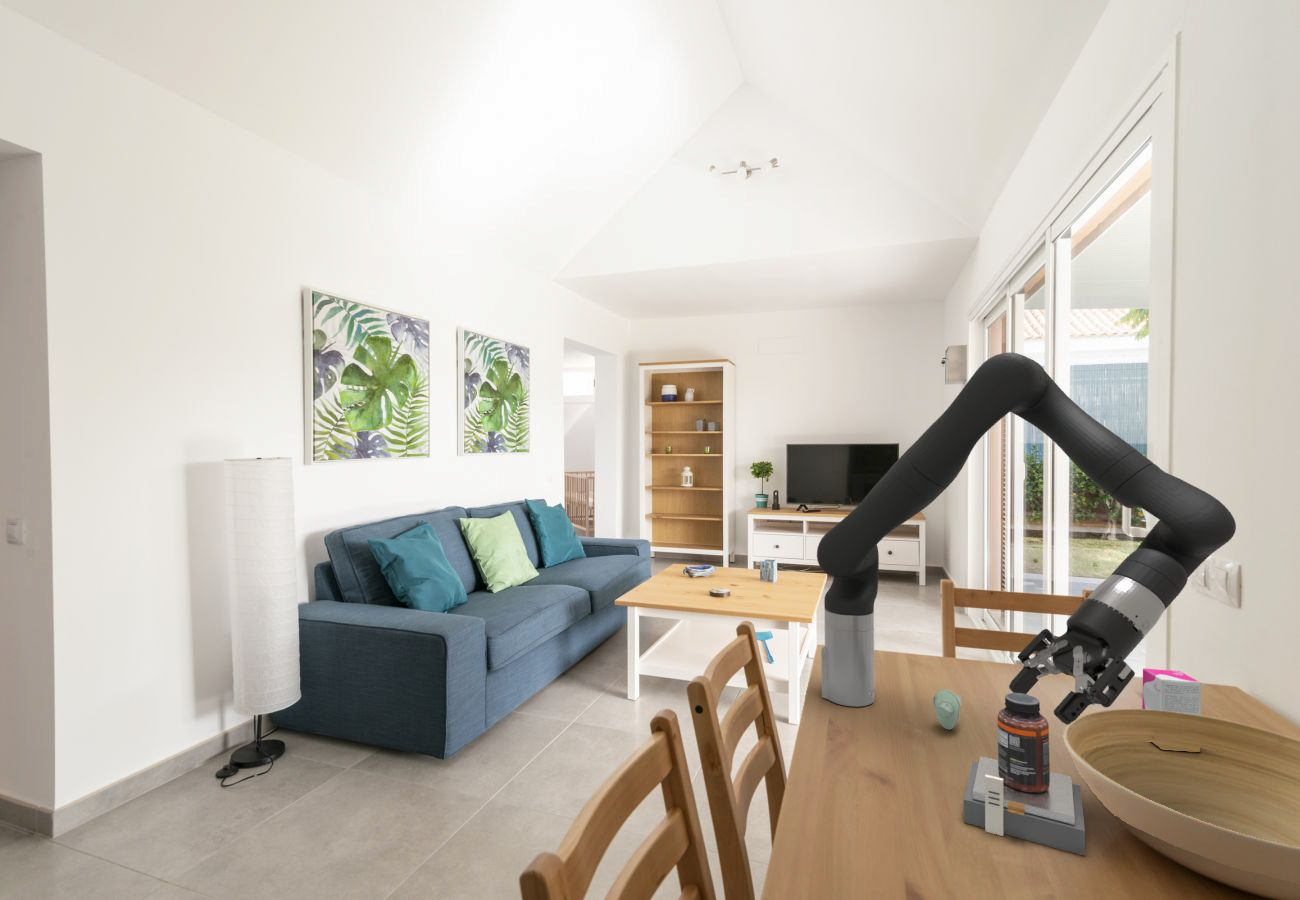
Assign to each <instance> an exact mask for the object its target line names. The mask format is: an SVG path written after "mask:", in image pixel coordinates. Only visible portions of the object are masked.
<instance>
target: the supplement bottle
mask: <svg viewBox="0 0 1300 900" xmlns="http://www.w3.org/2000/svg"><path fill="white" fill-rule="evenodd" d="M1004 706H1005V707H1003V708H1002V709H1000V710H999V711H998V713H997V756H998V757H997V760H998V771H999V772H998V773H999V777H1000V778H1003V782H1004V783H1005V784H1006V785H1008V786H1010V787H1013V788H1015V789H1018V790H1021V791H1025V792H1043V791H1045V790H1047V789H1048V788H1049V785H1050V772H1051V770H1050V769H1051V768H1050V734H1049V733H1050V727H1049V721H1048V720H1047V719H1046V717H1045V716H1044V715H1043V714H1041V713H1040V711H1041V707H1040V700H1039V699H1038V698H1037V697H1035V696H1033V695H1031V694H1028V693H1027V694H1022V693H1013V692H1010V693H1007V694H1005V695H1004Z"/></svg>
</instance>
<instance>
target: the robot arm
mask: <svg viewBox="0 0 1300 900" xmlns="http://www.w3.org/2000/svg"><path fill="white" fill-rule="evenodd" d="M1050 376H1051V375H1049V374H1048V372H1047V371H1046V370H1045V369H1044V368H1043V366H1042V365H1041V364H1040V363H1039V362H1037V361H1036V360H1034V359H1033V358H1032V359H1031V358H1030V357H1027V356H1025V355H1023V354H1021V353H1017V352H1002V353H998V354H996V355H993V356H992V357H990V358H988V359H987V360H985V361H984V362H983V363H981V365H980V366H979V367H978V368H977V369H976V371H975V372H974V373H973V375H972V376H971V377H970V379H969V380H968V381H967V383H966V384H965V385H964V387H962V389H961V391H960V392H958V395H957V396H956V397H955V398H954V400H953V401H952V402H951V403H950V405H949V406H948V407H947V409H946V410H945V411H944V412H943V413H942V414H941V415H940V416H939V417H938V418H937V419H936V420H935V421H934V422H933V423H932V424H931V425H930V426H929V427H928V428H927V429H926V430H925V431H924V432H923V434H921V435H920V436H919V438H918V439H917V440H916V441H915V442H913V444H911V446H910V447H908V449H907V450H906V451H905V452H904V453H903V454H902V455H901V456H900V457H899V458H898V459H897V461H896V462H894V464H892V466H890V468H889V470H888V471H887V472H886V473H885V474H884V475H883V476H882V477H881V478H880V480H879V481H878V482H877V483H876V484H875V485H874V486H873V487H872V489H870V491H869V492H868V493H867V495H866V496H864V499H862V501H861V502H860V503H859V504H858V505H857V506H856V507H855V508H854V509H853V510H852V511H851V512H849V514H847V515H846V516H845V517H844V518H843V519H842V520H841V521H839V522H838V523H837V524H836V525H834V526H833V528H831V529H830V530H829V531H828V532H826V533H825V534H824V535H823V536H822V538H821V539H820V540H819V543H818V545H817V549H816V550H817V551H816V559H817V564H818V565H819V567H820V569H821V570H822V571H823V572H824V573H825V574H827V575H828V576H831V577H833V578H832V583H831V585H830V587H829V589H828V590H827V592H826V593H825V594H824V595H825V596H824V601H823V602H824V606H823V607H824V647H822V648H821V652H820V653H821V657H820V658H821V668H820V669H821V673H820V674H821V698H822V699H826V700H828V701H830V702H831V703H834V704H837V705H842V706H846V707H856V708H857V707H867V706H870V705H871V704H873V703H874V702H875V636H874V635H875V633H874V631H875V625H874V624H875V623H874V622H875V615H874V613H875V608H874V607H875V601H876V598H877V596H878V591H879V589H878V588H879V570H880V569H879V568H880V567H879V564H880V562H879V561H880V560H879V554H880V553H879V547H878V544H879V543H880V542H881V541H882V540H883V539H884V538H885V537H886V536H887V535H888V534H890V533H891V532H892V531H893V530H895V529H897V528H898V527H899V526H901V525H902V524H904V523H906V522H907V521H909V520H910V519H912V518H913V517H914V516H916V515H917V514H919V513H921V511H923V510H924V509H925V508H927V507H928V506H930V505H931V504H932V502H934V501H935V500H936V499H937V498H938V497H939V496H940V495H941V494H942V493H943V492H945V490H947V488H949V486H951V484H952V483H953V482H954V481H955V480H956V478H957V477H958V475H960V473H961V471H962V469H963V467H965V465H966V462H967V460H968V458H969V457H970V455H971V453H972V451H973V449H974V447H975V446H976V445H977V443H978V441H980V440H981V438H983V436H984V435H986V433H987V432H988V431H989V430H990V429H992V427H994V426H995V425H996V424H997V423H998V422H999V421H1000V420H1002V419H1003V418H1004V417H1005V416H1006V415H1008V414H1009V413H1012V414H1014V415H1016V416H1018V417H1019V418H1021V419H1022V420H1024V421H1026V422H1027V423H1030V424H1031V425H1032V426H1033V427H1036V428H1037V429H1038V430H1039V431H1041V432H1042V433H1044V434H1045V436H1047V438H1049V439H1050V440H1051V441H1053V443H1055V444H1056V445H1057V446H1058V447H1059V448H1060V449H1061V450H1062V452H1063V453H1064V454H1065V455H1066V456H1067V457H1068V458H1069V459H1070V460H1071V462H1073V464H1074V465H1076V467H1077V468H1078V469H1079V470H1080V471H1081V472H1083V474H1084V475H1085V476H1087V478H1088V479H1089V480H1091V481H1092V482H1093V483H1095V484H1096V486H1098V487H1099V488H1100V489H1101V490H1102V491H1104V492H1105V493H1106V494H1107V495H1109V496H1110V497H1111V498H1112V499H1113V500H1115V501H1116V502H1117V503H1118V504H1120V505H1121V506H1123V507H1125V508H1128V509H1138V508H1140V509H1142V510H1144V511H1145V512H1147V513H1148V514H1150V515H1152V516H1154V517H1155V518H1156V519H1157V520H1158V521H1157V523H1155V525H1154V526H1153V527H1152V528H1151V529H1150V531H1149V532H1148V533H1147V534H1146V535H1145V537H1144V539H1142V542H1141V543H1140V544H1139V545H1138V547H1137V548H1136V549H1135V550H1134V551H1132V552H1131V553H1130V554H1128V555H1127V557H1126V558H1125V559H1124V560H1123V561H1122V562H1120V564H1119V565H1118V566H1117V567H1116V569H1114V571H1113V572H1112V573H1111V574H1110V575H1109V576H1108V577H1107V578H1106V579H1105V580H1103V581H1102V582H1101V583H1100V584H1098V586H1096V587H1095V589H1094V590H1092V592H1091V593H1090V594H1089V595H1088V597H1086V598H1085V600H1083V602H1082V603H1081V604H1080V605H1079V606H1078V608H1077V609H1076V610H1075V611H1074V612H1073V613H1072V614H1071V616H1069V618H1068V619H1067V620H1066V632H1065V633H1063V634H1062V635H1060V636H1059V637H1058V636H1056V635H1055V634H1053V633H1052V632H1051V631H1050V630H1049V629H1048V628H1044V629H1043V630H1041V631H1040V632H1039V633H1037V635H1036V636H1035V637H1034V638H1033V639H1032V640H1030V642H1029V643H1028V644H1027V646H1025V647H1024V648H1023V650H1021V652H1020V653H1019V654H1018V655H1017V659H1018V660H1019V661H1020V662H1021V663H1022V665H1023V667H1022V668H1021V670H1020V671H1019V672H1018V673H1017V674H1016V676H1014V677H1013V679H1011V681H1010V683H1009V686H1008V688H1009V689H1008V690H1010V691H1011V693H1022V694H1027V695H1028V693H1029V692H1030V690H1031V689H1032V688H1033V687H1034V686H1035V685H1036V684H1037V682H1038V681H1039V678H1040V679H1041V678H1042V677H1045V676H1048V675H1054V676H1056V675H1059V674H1064V675H1066V676H1071V677H1073V678H1074V679H1075V680H1074V691H1072V690H1070V691H1069V693H1068V694H1067V695H1066V696H1065V697H1064V699H1062V701H1061V702H1060V703H1059V704H1058V705H1057V706H1056V708H1054V710H1053V714H1054V716H1055V717H1056V718H1057V719H1058V720H1059V721H1060V722H1061V723H1063V724H1065V725H1068V726H1069V725H1070V724H1072V723H1073V722H1075V721H1076V720H1078V718H1079V717H1080V715H1081V714H1083V712H1084V711H1085V710H1086V709H1087V708H1088V707H1089V706H1094V705H1101V706H1102V707H1103V708H1110V707H1111V706H1112V705H1113V704H1114V702H1115V701H1116V699H1118V698H1119V696H1120V694H1121V693H1122V692H1123V691H1124V689H1125V688H1126V687H1127V685H1128V684H1129V683H1130V682H1131V681H1132V679H1133V678H1134V677H1135V675H1136V672H1135V671H1134V669H1132V667H1131V666H1130V665H1129V664H1128V663H1127V662H1126V661H1125V660H1126V659H1127V657H1128V656H1129V655H1130V654H1131V653H1132V652H1133V651H1134V650H1135V648H1136V647H1137V646H1138V645H1139V644H1140V643H1141V641H1142V640H1143V639H1144V638H1145V637H1146V636H1147V635H1148V634H1149V632H1150V631H1151V630H1152V629H1153V628H1154V627H1155V626H1156V624H1157V623H1158V621H1159V620H1160V618H1161V616H1162V615H1163V613H1164V612H1165V611H1166V609H1168V607H1169V606H1170V605H1171V604H1172V603H1173V601H1174V600H1176V598H1177V597H1178V596H1179V595H1180V594H1181V592H1182V591H1183V590H1184V588H1185V587H1186V585H1187V582H1188V580H1189V579H1188V578H1189V577H1190V576H1191V575H1192V574H1194V572H1195V571H1197V569H1198V568H1199V567H1200V566H1201V565H1202V563H1204V562H1205V561H1206V560H1207V559H1208V558H1209V557H1210V556H1211V555H1212V554H1213V553H1215V552H1217V550H1218V549H1220V548H1221V547H1223V546H1224V545H1226V544H1227V543H1228V542H1229V541H1231V540H1232V538H1233V537H1234V535H1235V533H1236V529H1237V525H1236V524H1237V523H1236V520H1235V518H1234V516H1233V514H1232V512H1231V511H1230V510H1229V509H1228V508H1227V507H1226V506H1225V504H1224V503H1222V502H1221V500H1219V499H1217V498H1216V497H1214V496H1213V495H1212V494H1209V493H1208V492H1206V491H1204V490H1202V489H1201V488H1199V487H1197V486H1195V485H1193V484H1191V483H1189V482H1188V481H1185V480H1183V479H1182V478H1179V477H1177V476H1174V475H1173V474H1170V473H1168V472H1166V471H1164V470H1163V469H1162V468H1160V467H1159V466H1158V465H1157V464H1156V463H1154V462H1153V461H1152V460H1150V459H1149V458H1147V457H1146V456H1145V455H1144V454H1143V453H1141V451H1139V450H1138V449H1137V448H1135V447H1134V446H1132V445H1131V444H1130V443H1128V442H1127V441H1126V440H1124V439H1123V438H1121V437H1120V436H1118V435H1117V434H1116V433H1115V432H1113V431H1111V430H1110V429H1109V428H1107V427H1106V426H1104V425H1103V424H1102V423H1101V422H1099V421H1097V420H1096V419H1095V418H1093V417H1092V416H1091V415H1089V413H1087V412H1086V411H1085V410H1084V409H1082V408H1081V407H1080V406H1079V405H1078V404H1077V403H1075V402H1074V400H1073V399H1072V398H1070V397H1069V396H1068V395H1067V394H1066V393H1065V392H1064V391H1063V390H1062V389H1061V388H1060V386H1059V385H1058V384H1057V383H1056V382H1055V381H1054V380H1053V378H1052V377H1050ZM1034 652H1035V656H1034V657H1031V658H1030V656H1031V655H1032V654H1033V653H1034ZM1050 658H1052V661H1051V659H1050ZM1040 665H1043V666H1041V667H1039V666H1040ZM1107 687H1108V689H1107V690H1106V691H1105V689H1106V688H1107ZM1104 691H1105V692H1104Z"/></svg>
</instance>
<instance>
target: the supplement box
mask: <svg viewBox="0 0 1300 900" xmlns="http://www.w3.org/2000/svg"><path fill="white" fill-rule="evenodd" d="M1141 701H1142V704H1141V705H1142V707H1141V710H1142V709H1145V710H1160V711H1170V712H1176V713H1184V714H1191V715H1198V716H1201V717H1202V682H1200V681H1199V680H1197V679H1195V678H1193V677H1191V676H1189V675H1188V674H1186V673H1184V672H1182V671H1180V670H1169V669H1157V668H1156V669H1155V668H1147V667H1146V668H1144V667H1143V668H1142V699H1141Z"/></svg>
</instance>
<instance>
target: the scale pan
mask: <svg viewBox="0 0 1300 900" xmlns="http://www.w3.org/2000/svg"><path fill="white" fill-rule="evenodd" d="M978 762H979V764H978V769H977V774H976V778H975V783H974V788H973V799H975V800H979V801H983V802H985V774H986V775H990V776H994V777H999V773H998V772H999V771H998V759H994V758H990V757H985V756H981V755H980V756H979V760H978ZM999 778H1000V777H999ZM1072 784H1073V778H1072V776H1070V775H1065V774H1061V773H1057V772H1052V771H1050V785H1049V788H1048V789H1047V790H1045V791H1043V792H1025V791H1021V790H1018V789H1015V788H1013V787H1010V786H1008V785H1006V784H1005V783H1004V782H1003V807H1006V808H1008V812H1012V813H1016V814H1020V815H1023V816H1024V813H1025V812H1026V813H1030V814H1034V815H1037V816H1041V817H1045V818H1049V819H1053V820H1057V821H1061V822H1064V823H1068V824H1072V825H1075V815H1074V803H1073V791H1072Z"/></svg>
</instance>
